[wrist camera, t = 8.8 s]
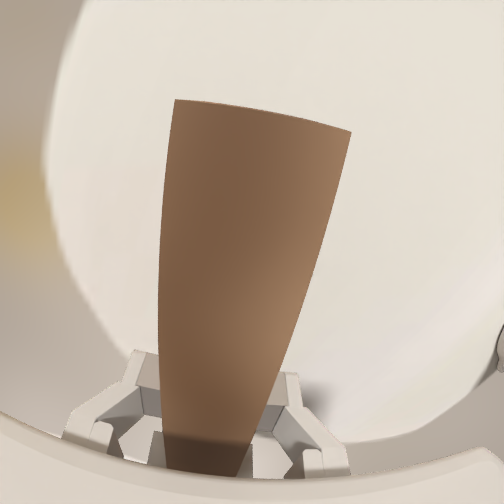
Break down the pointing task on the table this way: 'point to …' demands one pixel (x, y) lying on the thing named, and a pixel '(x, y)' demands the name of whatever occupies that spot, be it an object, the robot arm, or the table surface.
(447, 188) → the table surface
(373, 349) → the table surface
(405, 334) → the table surface
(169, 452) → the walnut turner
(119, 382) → the robot arm
